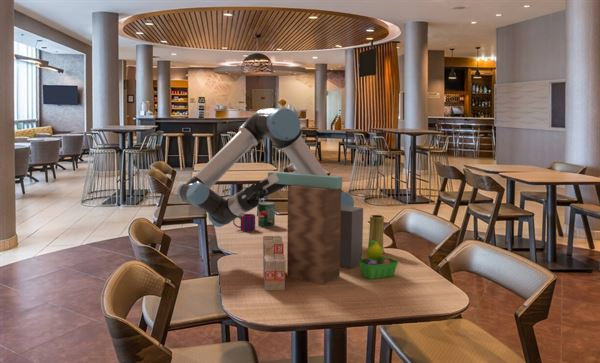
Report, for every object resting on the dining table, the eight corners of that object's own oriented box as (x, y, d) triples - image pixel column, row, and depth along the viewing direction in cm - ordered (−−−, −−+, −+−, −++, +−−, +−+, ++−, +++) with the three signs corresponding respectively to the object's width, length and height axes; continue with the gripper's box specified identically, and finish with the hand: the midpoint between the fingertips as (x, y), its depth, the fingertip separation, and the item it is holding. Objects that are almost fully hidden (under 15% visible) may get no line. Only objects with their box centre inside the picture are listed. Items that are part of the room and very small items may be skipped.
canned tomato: (277, 224, 258) (277, 202, 257) (270, 227, 251) (270, 204, 249) (262, 223, 261) (262, 201, 259) (255, 226, 253) (255, 203, 252)
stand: (287, 277, 175) (287, 186, 171) (303, 269, 184) (304, 182, 180) (324, 284, 168) (326, 189, 164) (339, 276, 176) (341, 186, 173)
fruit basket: (369, 280, 172) (369, 246, 171) (355, 273, 180) (356, 240, 179) (398, 276, 177) (400, 243, 175) (384, 269, 185) (385, 237, 183)
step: (320, 263, 192) (321, 208, 189) (332, 257, 200) (333, 204, 197) (350, 268, 186) (352, 211, 183) (361, 262, 193) (363, 207, 191)
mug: (254, 231, 243) (254, 216, 242) (232, 231, 243) (232, 216, 242) (255, 228, 250) (255, 213, 249) (234, 228, 250) (234, 213, 249)
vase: (385, 251, 210) (386, 215, 208) (382, 254, 204) (383, 218, 202) (369, 249, 212) (370, 214, 210) (366, 253, 206) (367, 216, 204)
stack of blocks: (285, 290, 162) (285, 251, 161) (264, 291, 162) (264, 251, 160) (281, 270, 183) (281, 235, 182) (262, 270, 183) (263, 235, 181)
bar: (267, 182, 179) (267, 172, 179) (273, 181, 182) (273, 171, 182) (336, 189, 166) (337, 177, 165) (342, 187, 169) (342, 176, 168)
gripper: (269, 206, 197) (312, 181, 187) (225, 216, 176) (271, 189, 166) (260, 187, 199) (303, 161, 188) (216, 196, 178) (261, 167, 167)
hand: (288, 174), depth 177 cm, fingers open, 13 cm apart
